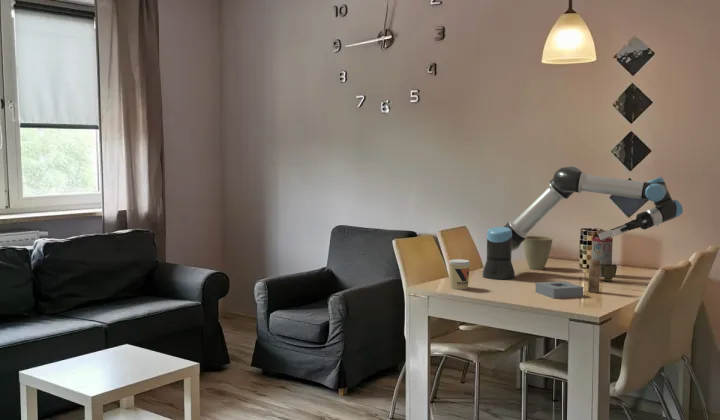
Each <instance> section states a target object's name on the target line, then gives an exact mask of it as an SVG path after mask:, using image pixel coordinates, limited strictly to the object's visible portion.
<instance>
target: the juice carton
mask: <svg viewBox="0 0 720 420" xmlns="http://www.w3.org/2000/svg"><path fill="white" fill-rule="evenodd" d="M608 230H609V229H608ZM608 230H597V234H595V235H593V236H592V237H591V259H598V260H600V264H601V263H602V264H605V265H606V264H610V266H611V264H612V265H613V241H614V240H613V239H614V238H613V236H610V237H607V238H605V239H602V240H600V237H599V235H598V234H600V233H603V232H606V231H608ZM600 277H601V278H603V277H602V275H601V268H600V276H599V278H600Z"/></svg>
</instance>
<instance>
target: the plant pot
mask: <svg viewBox="0 0 720 420" xmlns="http://www.w3.org/2000/svg"><path fill="white" fill-rule="evenodd" d="M522 244H523V248H524V249H523V250H524V255H525V259H526V263H527V266H528V268H529V269H531V270H544V269H545V268H546V265H547V262H548V259H549V255H550V252H551V249H552V244H553V238H552V237H549V236H540V235H539V236H537V235H536V236H535V235H529V236H528V235H527V238H526V239H525V240H524V241H523V242H522Z"/></svg>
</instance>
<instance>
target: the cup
mask: <svg viewBox="0 0 720 420" xmlns="http://www.w3.org/2000/svg"><path fill="white" fill-rule="evenodd" d="M600 268H601V275H602V277H601V278H603V280H604V282H607V283H612V282H613V279H614V278H615V277H616V274H617V271H618V270H617V268H618V265H617V264H615V263H614V264H613V263H612V264H611V266H610V264H606V265H605V264H602V263H601V264H600Z"/></svg>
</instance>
